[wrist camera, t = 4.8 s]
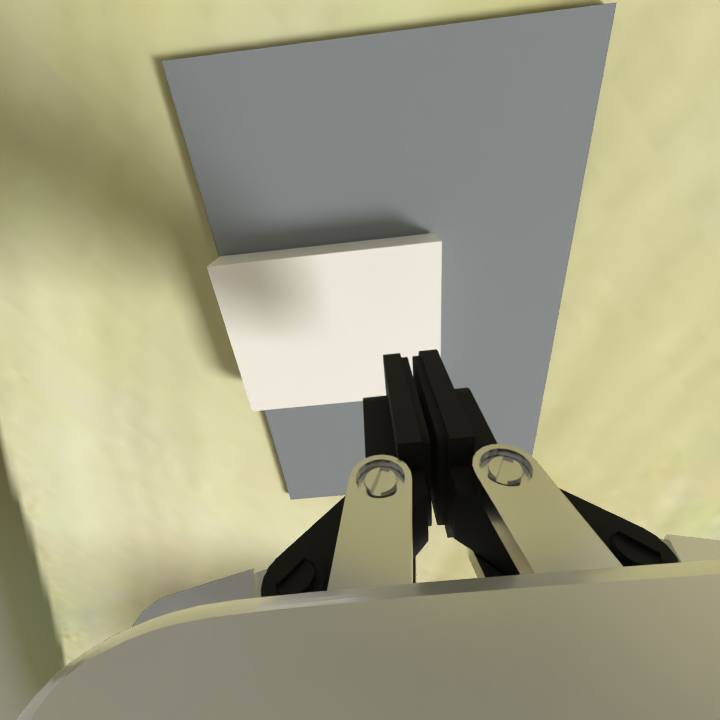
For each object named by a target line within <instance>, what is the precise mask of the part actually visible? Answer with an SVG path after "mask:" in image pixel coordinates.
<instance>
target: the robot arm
mask: <svg viewBox="0 0 720 720" xmlns="http://www.w3.org/2000/svg"><path fill="white" fill-rule="evenodd" d="M383 364H384V376H385V388H386V396H376V397H365V398H363V415H364V437H365V459H363V460H362V461H360V462H359V463H357V464H356V466H355V467H354V468H353V469H352V471H351V474H350V476H349V481H348V486H347V491H346V496H345V497H344V498H342V499H341V500H340V501H339V502H338V503H337V504H336V505H335V506H334V507H333V508H331V509H330V510H329V511H328V512H327V513H326V514H325V515H324V516H323V517H322V518H320V519H319V520H318V521H317V522H316V523H315V524H314V525H313V526H312V527H310V528H309V529H308V530H307V531H306V532H305V533H304V534H303V535H302V536H301V537H299V538H298V539H297V540H296V541H295V542H294V543H293V544H292V545H291V546H290V547H288V548H287V549H286V550H285V551H284V552H283V553H282V554H281V555H280V556H278V557H277V558H276V559H275V561H274V562H273V563H272V564H271V565H270V566H269V568H268V569H267V570H264V571H261V572H258V573H256V572H255V570H254V569H251V570H248V571H245V572H241V573H238V574H235V575H232V576H229V577H226V578H223V579H219V580H216V581H213V582H210V583H207V584H204V585H200V586H197V587H194V588H191V589H188V590H185V591H181V592H178V593H175V594H172V595H169V596H166V597H164V598H162V599H160V600H158V601H156V602H154V603H153V604H152V605H151V606H149V607H148V608H147V609H146V610H145V611H144V612H142V614H141V615H140V616H139V618H138V619H137V620H136V622H135V623H134V624H133V626H132V628H129V629H127V630H125V631H123V632H121V633H119V634H117V635H115V636H113V637H111V638H109V639H107V640H105V641H103V642H102V643H100V644H98V645H96V646H95V647H93V648H91V649H90V650H88V651H87V652H85V653H84V654H82V655H81V656H79V657H78V658H76V659H75V660H73V661H72V662H70V663H69V664H68V665H67V666H66V667H64V668H63V669H62V670H61V671H60V672H58V673H57V674H56V675H55V676H54V677H53V678H52V679H51V680H50V681H49V682H48V683H47V684H46V685H45V686H44V687H43V688H42V689H41V690H40V691H39V692H38V693H37V695H36V696H35V697H34V698H33V699H32V701H31V702H30V703H29V704H28V705H27V707H26V708H25V709H24V711H23V712H22V713H21V714H20V716H19V717H18V718H17V720H720V541H719V540H711V539H702V538H694V537H685V536H677V535H668V534H666V536H665V538H664V539H659V538H658V537H657V536H656V535H654V534H652V533H651V532H649V531H647V530H645V529H644V528H642V527H640V526H638V525H636V524H634V523H631V522H629V521H627V520H625V519H623V518H621V517H619V516H617V515H615V514H612V513H610V512H608V511H606V510H604V509H602V508H600V507H598V506H595V505H593V504H591V503H589V502H587V501H585V500H583V499H581V498H579V497H576V496H574V495H572V494H570V493H568V492H566V491H564V490H562V489H560V488H558V487H557V485H556V484H555V483H554V482H553V481H552V479H551V478H550V477H549V476H548V475H547V473H546V472H545V471H544V470H543V468H542V467H541V466H540V465H539V464H538V462H537V461H536V460H535V459H534V458H533V457H532V456H531V455H530V454H529V453H527V452H525V451H523V450H522V449H520V448H517V447H514V446H511V445H505V444H497V442H496V440H495V438H494V436H493V434H492V432H491V430H490V428H489V426H488V424H487V422H486V420H485V418H484V416H483V414H482V412H481V410H480V408H479V406H478V404H477V402H476V400H475V398H474V396H473V394H472V392H471V390H470V389H469V388H457V389H454V387H453V384H452V382H451V380H450V378H449V375H448V373H447V371H446V368H445V366H444V364H443V362H442V359H441V357H440V355H439V352H438V350H437V349H434V350H424V351H419V353H418V356H413V357H412V364H413V375H412V371H411V367H410V364H409V360H408V357H401V354H400V353H395V354H385V355H383ZM431 500H432V505H433V509H434V513H435V518H436V522H437V525H445V529H446V533H447V537H448V538H450V537H454V539H456V540H457V541H459V542H460V543H462V544H463V545H465V546H466V547H467V553H468V557H469V560H470V562H471V564H472V566H473V568H474V571H475V573H476V575H477V577H478V578H473V579H461V580H449V581H436V582H424V583H416V555H417V554H418V553H419V552H420V550H421V549H422V548H423V547H424V545H425V544H426V543H427V542H428V526H431V525H432V505H431Z"/></svg>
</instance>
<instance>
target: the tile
mask: <svg viewBox="0 0 720 720" xmlns="http://www.w3.org/2000/svg"><path fill="white" fill-rule="evenodd" d="M207 270H208V273H209V276H210V279H211V282H212V285H213V289H214V292H215V295H216V298H217V301H218V304H219V308H220V311H221V314H222V317H223V320H224V323H225V327H226V330H227V333H228V336H229V339H230V342H231V346H232V349H233V352H234V355H235V358H236V361H237V364H238V368H239V371H240V374H241V377H242V380H243V383H244V387H245V390H246V393H247V396H248V399H249V402H250V406H251V409H252V411H260V410H271V409H281V408H292V407H303V406H313V405H324V404H334V403H345V402H355V401H363V398H365V397H376V396H386V388H385V376H384V364H383V355H385V354H395V353H400V354H401V357H408V360H409V364H410V367H411V371H412V375H413V364H412V357H413V356H418V353H419V351H424V350H434V349H437V350H438V352H439V355H440V357H441V276H442V241H441V240H440V239H439V238H438V237H437V236H436V235H435V234H434V233H429V234H420V235H411V236H402V237H393V238H383V239H374V240H365V241H356V242H347V243H338V244H329V245H320V246H310V247H301V248H292V249H283V250H274V251H265V252H256V253H247V254H238V255H228V256H220V257H218V258H217V259H216V260H215V261H213V262H212V263H211V264H210V265H208V266H207Z"/></svg>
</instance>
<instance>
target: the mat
mask: <svg viewBox="0 0 720 720" xmlns="http://www.w3.org/2000/svg"><path fill="white" fill-rule="evenodd" d="M615 8H616V3H609V4H601V5H593V6H586V7H578V8H570V9H562V10H555V11H547V12H539V13H531V14H523V15H516V16H508V17H500V18H492V19H485V20H477V21H469V22H461V23H454V24H446V25H438V26H430V27H423V28H415V29H407V30H399V31H391V32H384V33H376V34H368V35H360V36H353V37H345V38H337V39H329V40H322V41H314V42H306V43H298V44H290V45H283V46H275V47H267V48H259V49H252V50H244V51H236V52H228V53H221V54H213V55H205V56H197V57H190V58H182V59H174V60H166V61H162V64H163V68H164V71H165V74H166V78H167V81H168V85H169V88H170V91H171V95H172V98H173V102H174V105H175V108H176V112H177V115H178V119H179V122H180V125H181V129H182V132H183V135H184V139H185V142H186V146H187V149H188V152H189V156H190V159H191V163H192V166H193V169H194V173H195V176H196V180H197V183H198V186H199V190H200V193H201V197H202V200H203V203H204V207H205V210H206V214H207V217H208V220H209V224H210V227H211V230H212V234H213V237H214V241H215V244H216V247H217V251H218V254H219V257H220V256H228V255H238V254H247V253H256V252H265V251H274V250H283V249H292V248H301V247H310V246H320V245H329V244H338V243H347V242H356V241H365V240H374V239H383V238H393V237H402V236H411V235H420V234H429V233H434V234H435V235H436V236H437V237H438V238H439V239H440V240H441V241H442V276H441V359H442V362H443V364H444V366H445V368H446V371H447V373H448V375H449V378H450V380H451V382H452V384H453V387H454V389H457V388H469V389H470V390H471V392H472V394H473V396H474V398H475V400H476V402H477V404H478V406H479V408H480V410H481V412H482V414H483V416H484V418H485V420H486V422H487V424H488V426H489V428H490V430H491V432H492V434H493V436H494V438H495V440H496V442H497V444H505V445H511V446H514V447H517V448H520V449H522V450H523V451H525V452H527V453H529V454H530V455H531V456H532V453H533V448H534V442H535V437H536V432H537V426H538V421H539V416H540V410H541V405H542V399H543V394H544V389H545V383H546V378H547V373H548V367H549V362H550V357H551V351H552V346H553V340H554V335H555V330H556V324H557V319H558V314H559V308H560V303H561V297H562V292H563V287H564V281H565V276H566V271H567V265H568V260H569V255H570V249H571V244H572V238H573V233H574V228H575V222H576V217H577V212H578V206H579V201H580V196H581V190H582V185H583V179H584V174H585V169H586V163H587V158H588V153H589V147H590V142H591V136H592V131H593V126H594V120H595V115H596V110H597V104H598V99H599V94H600V88H601V83H602V77H603V72H604V67H605V61H606V56H607V51H608V45H609V40H610V35H611V29H612V24H613V18H614V13H615ZM265 414H266V417H267V421H268V424H269V427H270V431H271V434H272V437H273V441H274V444H275V448H276V451H277V454H278V458H279V461H280V465H281V468H282V471H283V475H284V478H285V482H286V485H287V488H288V492H289V495H290V499H303V498H314V497H326V496H337V495H346V491H347V486H348V481H349V476H350V474H351V471H352V469H353V468H354V467H355V466H356V464H357V463H359V462H360V461H362V460H363V459H365V437H364V415H363V401H355V402H345V403H334V404H324V405H313V406H303V407H292V408H281V409H271V410H265Z"/></svg>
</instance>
